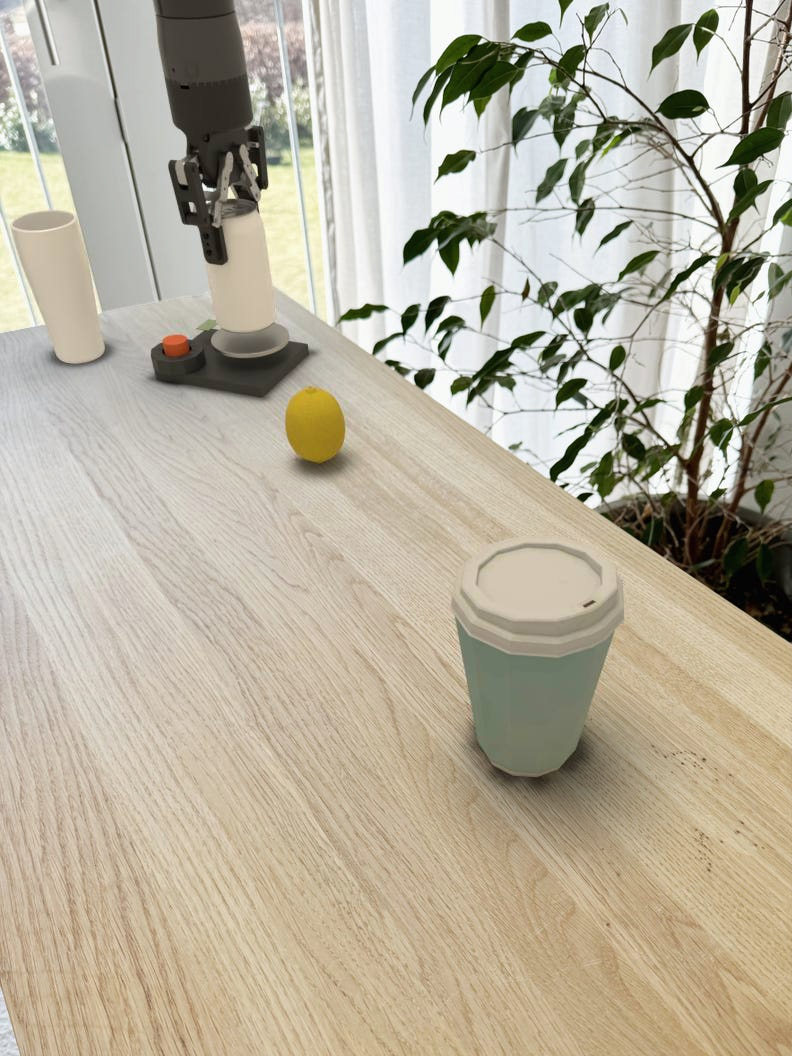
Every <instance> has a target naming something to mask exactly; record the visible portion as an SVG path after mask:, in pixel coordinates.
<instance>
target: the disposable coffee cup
mask: <svg viewBox="0 0 792 1056" xmlns="http://www.w3.org/2000/svg"><path fill="white" fill-rule="evenodd" d="M454 578H455V579H454V582H453V587H452V593H451V599H450V604H449V609H450V610H451V612H452V614H453V615H454V621H455V625H456V630H457V631H456V632H457V636H458V642H459V647H460V652H461V658H462V663H463V668H464V673H465V679H466V686H467V691H468V695H469V701H470V707H471V712H472V717H473V723H474V728H475V734H476V739H477V743H478V744H479V746H480V748H481V749H482V751H483V753H484V754H485V755H486V757H487V759H488V760H489V762H490V764H491V765H492V766H493V767H495V768H497V769H499V770H501V771H503V772H504V773H507V774H509V775H511V776H514V777H515V776H516V777H529V778H539V777H541V776H543V775H547V774H549V773H552V772H555V771H558V770H559V769H560V768H561V767H562V766H563V765H564V764H565V762H567V760H568V759H569V758H570V757H571V755H572V754H573V753H574V752H575V751H576V750H577V747H578V744H579V741H580V738H581V735H582V733H583V732H582V731H583V729H584V726H585V723H586V719H587V717H588V713H589V712H590V711H589V710H590V708H591V705H592V702H593V698H594V695H595V692H596V689H597V687H598V684H599V681H600V677H601V674H602V671H603V668H604V666H605V662H606V659H607V656H608V653H609V650H610V647H611V644H612V641H613V638H614V636H615V635H614V634H615V632H616V630H617V629H618V628H619V626H621V624H622V623H623V622H624V621H625V598H624V597H625V596H624V595H625V594H624V593H625V592H624V581H623V580H624V579H622V578H621V577H620V576H619V574H618V566H617V565H616V564H615V563H613V561H611V560H610V559H609V558H608V557H607V556H605V554H603V553H602V552H601V551H600V550H599V549H598V548H597V547H595V546H593V545H590V544H587V543H583V542H580V541H577V540H574V539H571V538H568V537H564V536H560V535H528V534H527V535H526V534H522V535H519V536H515V537H511V538H507V539H504V540H499V541H496V542H492V543H489V544H487V545H486V546H484V547H482V548H481V549H480V550H478V551H477V552H476V553H475V554H474V555H472V557H470V558H469V559H468V560H466V561H465V562H464V563H463V564H461V565H460V566H459V567H458V568H457V569H456V573H455V577H454Z"/></svg>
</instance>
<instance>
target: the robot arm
mask: <svg viewBox="0 0 792 1056" xmlns="http://www.w3.org/2000/svg"><path fill="white" fill-rule="evenodd" d="M152 5H153V9H154V13H155V22H156V37H157V46H158V51H159V56H160V57H159V58H160V61H161V67H162V72H163V77H164V82H165V83H164V84H165V88H166V93H167V98H168V105H169V109H170V114H171V115H170V116H171V121H172V124H173V125H174V126H175V127H176V129H178V130H180V131H181V132H182V133H183V134H184V135H185V138H186V150H185V155H186V156H184V157H183V158H181V159H170V160H169V161H168V164H167V168H168V172H169V177H170V180H171V185H172V188H173V193H174V196H175V201H176V204H177V208H178V212H179V216H180V220H181V223H182V224H183V225H184V226H193V227H197V228H198V232H199V237H200V242H201V247H202V251H203V252H202V253H203V258H204V257H205V259H204V261H205V260H206V261H207V262H208V263H209V264H215V265H224V264H225V263H226V262H227V261H228V256H227V251H226V245H225V239H224V233H223V227H222V226H220V224H221V214H222V205H223V204H224V203H226V201H227V199H229V198H228V196H229V188H230V190H231V192H232V194H233V196H234V199H246V200H250V201H252V202H254V203H255V204H256V205H257V212H258V213H259V215H260V216H261V214H260V208H259V207H260V205H259V202H260V201H261V198H262V190H266V191H267V190H268V188H269V174H268V163H267V151H266V141H265V131H264V128H263V126H262V125H254V124H252V122H253V120H254V112H253V104H252V98H251V90H250V83H249V77H248V68H247V62H246V54H245V46H244V40H243V36H242V31H241V29H240V24H239V21H238V17H237V16H238V15H237V11H236V6H235V0H152ZM253 165H255V166H256V168H257V169H256V171H257V172H256V171H255V168H254V166H253ZM203 185H204V186H205V187H206V188H207V189H213V191H211V190H204V187H203ZM207 202H211V214H209V213H208V208H207ZM190 203H192V205H193V208H192V210H191V205H190Z"/></svg>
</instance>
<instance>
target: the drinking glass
mask: <svg viewBox="0 0 792 1056" xmlns="http://www.w3.org/2000/svg"><path fill="white" fill-rule="evenodd" d="M77 217H78V216H76V214H75V213H73V212H71V211H68V210H63V209H44V210H43V209H42V210H36V211H31V212H27V213H24V214H21V215H18V216H17V217H15V218H13V220H11V222H10V224H9V226H10V230H11V235H12V238H13V242H14V246H15V251H16V253H17V256H18V259H19V262H20V265H21V268H22V270H23V272H24V276H25V277H26V280H27V283H28V285H29V287H30V290H31V292H32V295H33V297H34V300H35V303H36V305H37V307H38V310H39V313H40V315H41V317H42V320H43V323H44V325H45V327H46V329H47V333H48V336H49V338H50V339H51V340H50V341H51V344H52V346H53V350H54V354H55V355H56V357H57V358H58V360H60V362H63V363H66V364H72V365H76V364H77V365H78V364H86V363H90V362H93V361H95V360H97V359H100V357H102V356H103V355H104V353H105V350H106V345H105V342H104V337H103V334H102V330H101V324H100V319H99V313H98V308H97V302H96V297H95V291H94V285H93V279H92V273H91V268H90V262H89V256H88V252H87V248H86V245H85V240H84V236H83V233H82V230H81V227H80V224H79V220H78V218H77Z"/></svg>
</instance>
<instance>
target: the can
mask: <svg viewBox="0 0 792 1056" xmlns="http://www.w3.org/2000/svg"><path fill="white" fill-rule="evenodd" d="M206 204H207V208H208V213H209V214H211V201H208V202H206ZM259 213H260V212H259ZM259 213H258V212H257V205H256V204H255V203H254V202H252V201H250V200H246V199H236V198H227V201H226V203H224V204H223V205H222V214H221V224H220V226H222V227H223V233H224V239H225V245H226V251H227V256H228V261H227V262H226V263H225V264H224V265H215V264H209V263H208V262H207V261H206V260H205V257H204V256H203V258H204V264H205V269H206V275H207V276H206V277H207V281H208V285H209V291H210V297H211V302H212V307H213V312H214V318H215V320H216V322H217V325H216V326H218V327H220V329H223V330H225V331H227V332H230V333H235V334H250V333H256V332H260V331H263V330H265V329H267V328H269V327H270V326H272V325H273V323H275V322H276V320H277V309H276V300H275V295H274V285H273V280H272V279H273V278H272V273H271V265H270V258H269V251H268V245H267V238H266V229H265V225H264V224H265V223H264V220H263V218H262V217H261V214H260V215H259Z"/></svg>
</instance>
